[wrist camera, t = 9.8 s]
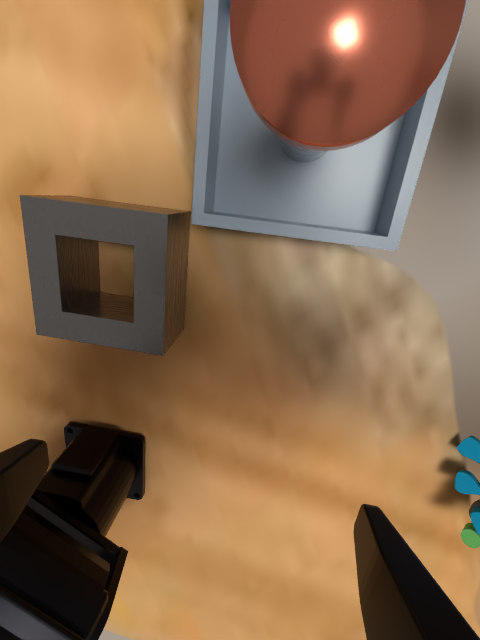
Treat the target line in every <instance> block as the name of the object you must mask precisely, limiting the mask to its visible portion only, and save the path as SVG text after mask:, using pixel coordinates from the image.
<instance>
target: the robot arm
mask: <svg viewBox="0 0 480 640" xmlns="http://www.w3.org/2000/svg"><path fill="white" fill-rule="evenodd" d="M64 433H65V443H66V449H65V450H64V451H63V452H62V453H61V454H60V455H59V457H58V458H57V459H56V460H55V461H54V462H53V463H52V465H51V468H50V469H49V470H48V471H47V469H48V466H49V458H48V450H47V444H46V442H45V441H43V440H37V439H29V440H26V441H24V442H22V443H20V444H18V445H16V446H14V447H12V448H9V449H7V450H5V451H3V452H1V453H0V640H98V639H99V636H100V635H101V633H102V631H103V629H104V627H105V624H106V622H107V619H108V617H109V614H110V611H111V608H112V604H113V601H114V598H115V594H116V591H117V587H118V584H119V580H120V577H121V574H122V570H123V567H124V563H125V560H126V557H127V553H128V551H127V550H126V549H124V548H123V547H119V546H117V545H116V544H114V543H113V542H112V541H110V540H109V539H107V538H106V537H105V536H106V534H107V533H108V531H109V529H110V527H111V525H112V523H113V521H114V519H115V518H116V516H117V514H118V512H119V510H120V508H121V506H122V505H123V503H124V501H125V499H126V498H131V499H136V500H140V499H142V497H143V495H144V493H145V439H144V437H142V436H141V435H137V434H132V433H127V432H121V431H116V430H111V429H105V428H100V427H95V426H90V425H84V424H79V423H74V422H70V423H68V424H67V425H66V426H65V427H64ZM137 441H138V442H137ZM46 471H47V472H46ZM45 473H46V474H45ZM44 474H45V475H44ZM354 543H355V554H356V565H357V576H358V587H359V597H360V604H361V610H362V616H363V621H364V627H365V632H366V638H367V640H480V638H479V637H478V636H477V634H476V633H475V632H474V630H473V629H472V628H471V627H470V625H469V624H468V623H467V621H466V620H465V619H464V617H463V616H462V615H461V613H460V612H459V611H458V610H457V608H456V607H455V606H454V604H453V603H452V602H451V600H450V599H449V598H448V597H447V595H446V594H445V593H444V591H443V590H442V589H441V587H440V586H439V585H438V583H437V582H436V581H435V580H434V578H433V577H432V576H431V574H430V573H429V572H428V570H427V569H426V568H425V567H424V565H423V564H422V563H421V561H420V560H419V559H418V557H417V556H416V555H415V554H414V552H413V551H412V550H411V548H410V547H409V546H408V544H407V543H406V542H405V540H404V539H403V538H402V537H401V535H400V534H399V533H398V531H397V530H396V529H395V527H394V526H393V525H392V524H391V522H390V521H389V520H388V518H387V517H386V516H385V514H384V513H383V512H382V510H381V509H380V508H379V507H377V506H373V505H368V504H362V505H361V507H360V510H359V513H358V516H357V519H356V522H355V525H354Z"/></svg>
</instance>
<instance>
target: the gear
mask: <svg viewBox="0 0 480 640" xmlns="http://www.w3.org/2000/svg"><path fill="white" fill-rule="evenodd" d="M457 449H458V451H459V452H460V453H461V454H462V455H463V456H465V457H468V458H471V459H473V460H474V461H476V462H478V463H479V464H480V441H479V440H478V439H477V438H476V437H474V436H470V437H468V438H466V439H465V440H463V441H462V442H461V443H460V444H459V446H458V447H457ZM455 489H456V490H457V491H459V492H460V493H463V494H477V495H480V483H479V482H478V480H477V479H476V478H475V476H474V475H473V474H472V473H470V472H469V471H466V470H460V471H459V472H458V473H457V475H456V478H455ZM469 515H470V518H471V520H472V523H468V524H466V525H465V527H464V529H463V530H462V532H461V538H462V540H463V542H464V543H465V544H466V545H467V546H469V547H471V548H478V547H479V546H480V500H477V501H475V502H474V503H473V504H472V505H471V507H470V509H469Z"/></svg>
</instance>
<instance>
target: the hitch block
mask: <svg viewBox="0 0 480 640" xmlns="http://www.w3.org/2000/svg"><path fill="white" fill-rule="evenodd" d="M20 201H21V209H22V217H23V226H24V234H25V242H26V250H27V259H28V267H29V275H30V283H31V291H32V300H33V308H34V316H35V324H36V333H37V335H43V336H49V337H55V338H61V339H67V340H73V341H79V342H85V343H90V344H96V345H102V346H108V347H114V348H120V349H126V350H132V351H138V352H144V353H150V354H156V355H162V356H163V355H164V354H165V353H166V351H167V350H168V349H169V348H170V346H171V345H172V344H173V343H174V341H175V340H176V339H177V337H178V336H179V335H180V334H181V332H182V331H183V330H184V319H185V301H186V284H187V266H188V248H189V231H190V213H191V212H190V211H182V210H174V209H167V208H159V207H151V206H144V205H136V204H128V203H120V202H113V201H105V200H97V199H89V198H82V197H74V196H42V195H20ZM98 241H104V242H112V243H119V244H126V245H133V246H134V298H133V297H126V296H120V295H113V294H107V293H100V282H99V258H98Z"/></svg>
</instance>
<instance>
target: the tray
mask: <svg viewBox="0 0 480 640" xmlns="http://www.w3.org/2000/svg"><path fill="white" fill-rule="evenodd" d="M468 2H469V0H466V4H465V9H464V13H463V17H462V22H463V19H464V16H465V12H466V9H467V5H468ZM230 5H231V0H204V14H203V32H202V49H201V66H200V83H199V100H198V117H197V134H196V152H195V169H194V186H193V203H192V220H191V224H194V225H202V226H210V227H217V228H225V229H232V230H240V231H247V232H255V233H262V234H270V235H277V236H285V237H293V238H300V239H308V240H315V241H323V242H330V243H338V244H345V245H353V246H362V247H368V248H376V249H383V250H391V251H397V249H398V246H399V242H400V239H401V235H402V232H403V228H404V225H405V221H406V218H407V214H408V211H409V207H410V204H411V200H412V197H413V194H414V190H415V187H416V183H417V179H418V176H419V173H420V169H421V166H422V162H423V158H424V155H425V152H426V148H427V145H428V141H429V138H430V134H431V131H432V127H433V124H434V120H435V116H436V113H437V110H438V106H439V103H440V99H441V96H442V92H443V89H444V85H445V82H446V78H447V75H448V72H449V68H450V64H451V61H452V58H453V54H454V51H455V47H456V43H457V40H458V37H459V33H460V29H461V26H462V22H461V25H460V28H459V31H458V34H457V37H456V40H455V43H454V45H453V47H452V49H451V52H450V54H449V56H448V58H447V60H446V62H445V64H444V65H443V67H442V69H441V71H440V72H439V74H438V76H437V77H436V79H435V80H434V81H433V83H432V84H431V86H430V87H429V88H428V90H427V91H426V92H425V93H424V94H423V96H422V97H421V98H420V99H419V100H418V101H417V102H416V103H415V104H414V105H413V106H412V107H411V108H410V109H409V110H408V111H407V112H405V113H404V114H403V115H402V116H401V117H400V118H398V119H397V120H395V121H394V122H393V123H391V124H390V125H388V126H387V127H386V128H384V129H383V130H381V131H380V132H379V133H377V134H376V135H374V136H373V137H371V138H369V139H367V140H365V141H364V142H362V143H359V144H356V145H354V146H351V147H348V148H344V149H340V150H333V151H328V152H327V153H325V154H324V155H323V156H322V157H320V158H318V159H316V160H314V161H310V162H300V161H296V160H294V159H292V158H290V157H289V156H288V155H287V154H286V153H285V152H284V151H283V149H282V148H281V146H280V143H279V140H278V136H277V135H275V134H274V133H273V132H272V131H271V130H270V129H269V128H268V127H266V126H265V125H264V123H263V122H262V121H261V119H260V118H259V117H258V116H257V114H256V113H255V111H254V109H253V107H252V106H251V104H250V102H249V99H248V97H247V95H246V93H245V90H244V87H243V85H242V82H241V79H240V77H239V74H238V71H237V67H236V64H235V61H234V56H233V51H232V45H231V36H230Z"/></svg>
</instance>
